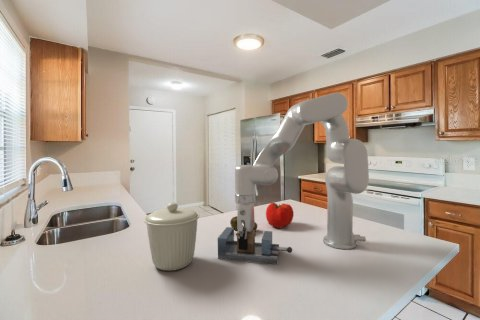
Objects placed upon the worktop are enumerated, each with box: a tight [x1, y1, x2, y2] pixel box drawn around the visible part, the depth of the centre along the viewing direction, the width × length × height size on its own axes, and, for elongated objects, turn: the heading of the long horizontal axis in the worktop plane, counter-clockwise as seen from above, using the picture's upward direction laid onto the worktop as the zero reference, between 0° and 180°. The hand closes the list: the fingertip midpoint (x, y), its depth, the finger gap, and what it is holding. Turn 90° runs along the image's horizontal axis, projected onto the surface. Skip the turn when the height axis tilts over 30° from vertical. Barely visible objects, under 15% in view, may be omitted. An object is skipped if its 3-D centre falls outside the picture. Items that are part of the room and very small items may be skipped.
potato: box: [229, 215, 258, 233], centre depth 108 cm, size 8×13×8 cm, turn 94°
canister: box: [143, 202, 200, 272], centre depth 79 cm, size 18×18×21 cm
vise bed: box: [217, 226, 280, 265], centre depth 86 cm, size 21×12×8 cm, turn 78°
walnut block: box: [236, 229, 256, 253], centre depth 87 cm, size 6×4×7 cm, turn 77°
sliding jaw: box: [261, 230, 293, 256], centre depth 84 cm, size 10×9×6 cm
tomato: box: [265, 202, 295, 229], centre depth 117 cm, size 13×14×12 cm
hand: (245, 244), depth 87 cm, fingers open, 9 cm apart
